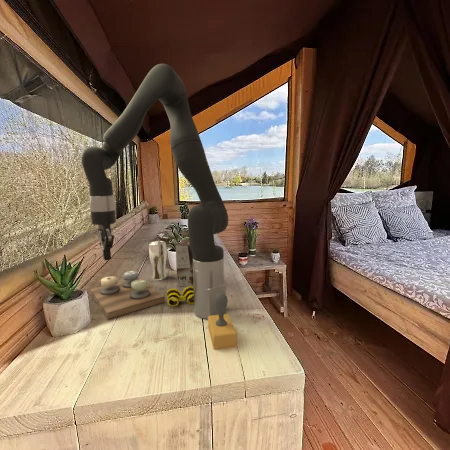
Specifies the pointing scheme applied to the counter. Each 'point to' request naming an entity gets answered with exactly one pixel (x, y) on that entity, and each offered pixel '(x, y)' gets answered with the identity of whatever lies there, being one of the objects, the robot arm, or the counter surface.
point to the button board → (124, 298)
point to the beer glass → (158, 259)
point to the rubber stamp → (221, 325)
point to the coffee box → (184, 264)
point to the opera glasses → (175, 296)
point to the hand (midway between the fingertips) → (107, 259)
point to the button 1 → (108, 281)
